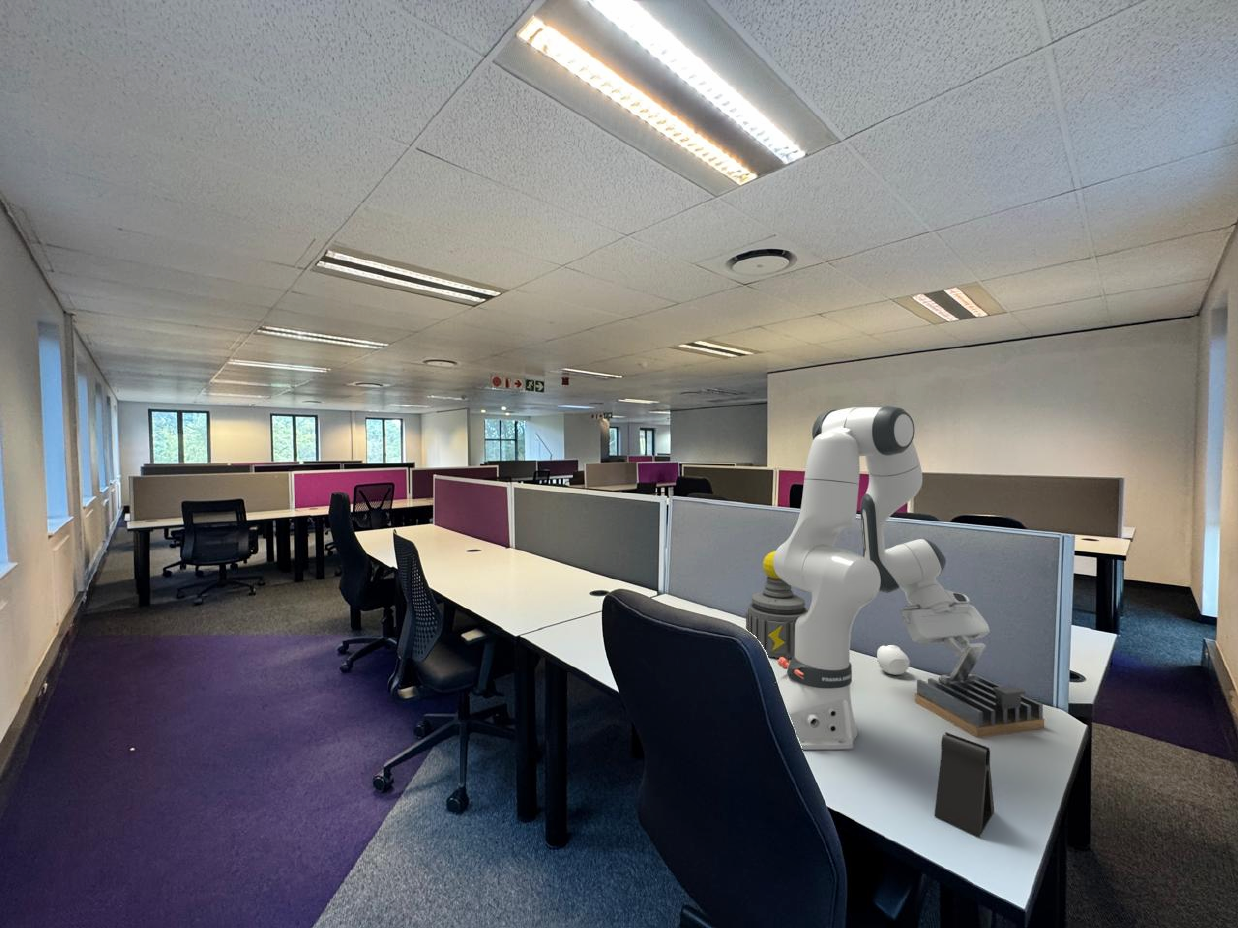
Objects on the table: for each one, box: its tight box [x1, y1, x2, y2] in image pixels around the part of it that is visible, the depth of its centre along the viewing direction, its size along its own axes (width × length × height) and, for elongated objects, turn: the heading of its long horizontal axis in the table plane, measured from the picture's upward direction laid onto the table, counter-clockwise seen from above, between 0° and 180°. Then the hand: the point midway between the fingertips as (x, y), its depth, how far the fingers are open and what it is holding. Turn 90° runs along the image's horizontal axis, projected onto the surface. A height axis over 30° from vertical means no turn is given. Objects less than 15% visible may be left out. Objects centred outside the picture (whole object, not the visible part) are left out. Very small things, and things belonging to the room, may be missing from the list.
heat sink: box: [914, 673, 1045, 738], centre depth 113 cm, size 18×17×9 cm
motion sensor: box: [876, 644, 911, 676], centre depth 136 cm, size 8×8×8 cm
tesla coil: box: [745, 550, 809, 660], centre depth 153 cm, size 19×19×30 cm
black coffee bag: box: [934, 731, 995, 838], centre depth 81 cm, size 9×6×12 cm, turn 131°
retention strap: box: [949, 642, 987, 682], centre depth 116 cm, size 5×12×1 cm
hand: (967, 657), depth 116 cm, fingers closed, pressing on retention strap
